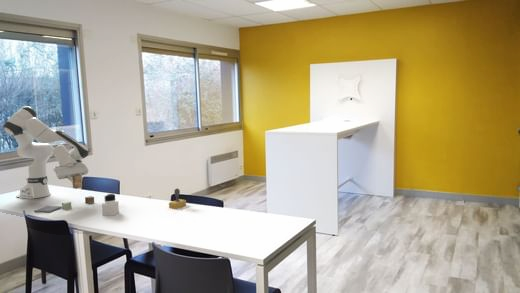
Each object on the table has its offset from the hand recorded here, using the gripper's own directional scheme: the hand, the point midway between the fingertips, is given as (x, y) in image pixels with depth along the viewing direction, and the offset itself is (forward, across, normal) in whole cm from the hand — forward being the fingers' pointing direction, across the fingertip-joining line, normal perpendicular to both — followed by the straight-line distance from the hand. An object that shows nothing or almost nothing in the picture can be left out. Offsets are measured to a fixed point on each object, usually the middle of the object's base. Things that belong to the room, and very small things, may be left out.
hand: (77, 180), depth 259 cm
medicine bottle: (+37, -1, -14) cm, 39 cm away
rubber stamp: (+54, +31, -30) cm, 69 cm away
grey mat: (+6, -17, +17) cm, 24 cm away
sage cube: (+11, -8, +12) cm, 19 cm away
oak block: (+3, 0, +4) cm, 5 cm away
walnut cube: (+11, +8, +12) cm, 18 cm away
